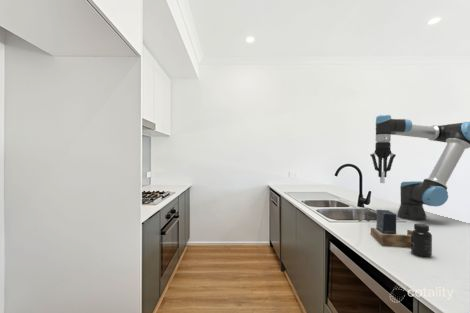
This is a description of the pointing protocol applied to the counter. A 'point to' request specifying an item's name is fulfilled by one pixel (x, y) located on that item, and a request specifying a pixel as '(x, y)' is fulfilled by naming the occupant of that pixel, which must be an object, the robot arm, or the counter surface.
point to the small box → (386, 222)
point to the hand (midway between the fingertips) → (382, 182)
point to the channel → (392, 239)
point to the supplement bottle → (421, 241)
